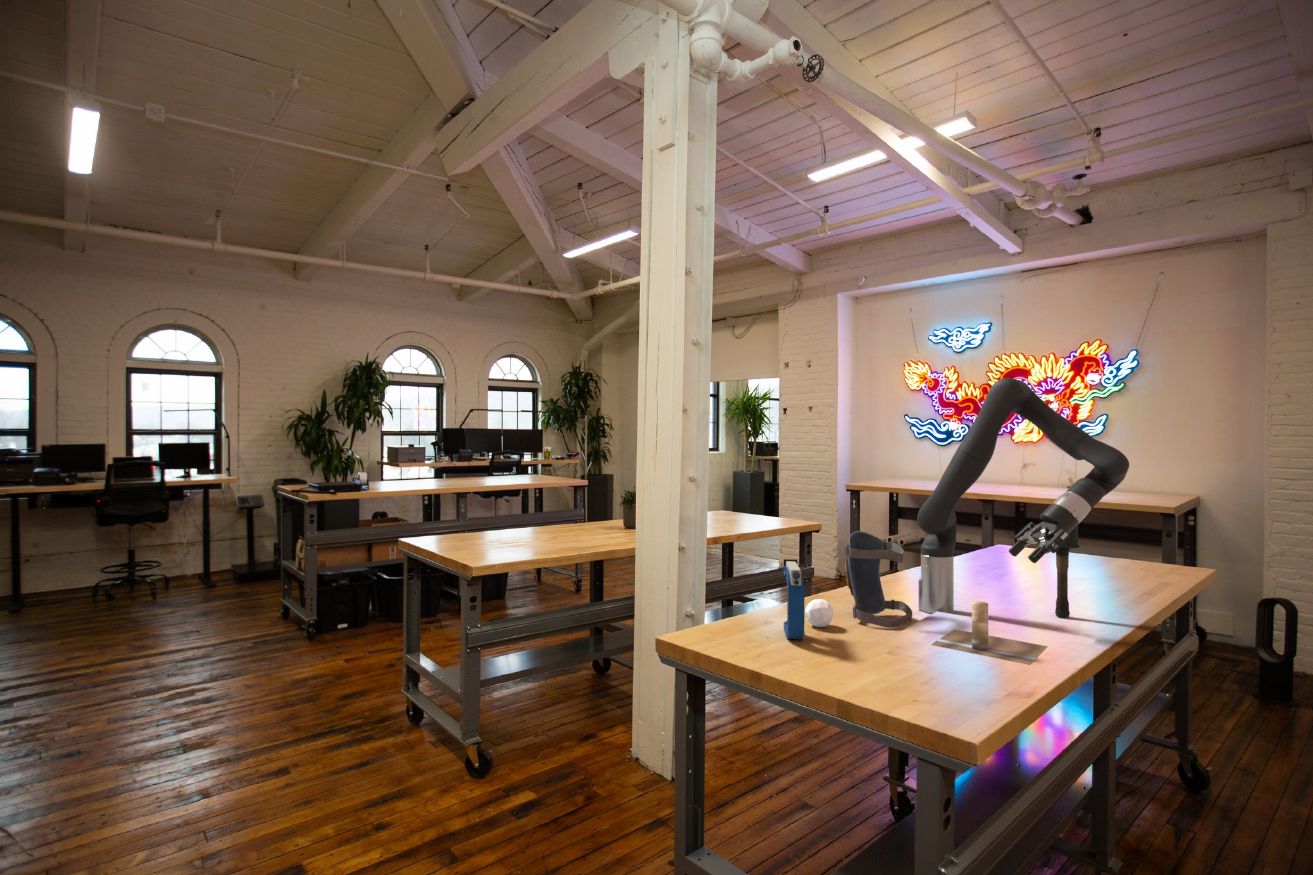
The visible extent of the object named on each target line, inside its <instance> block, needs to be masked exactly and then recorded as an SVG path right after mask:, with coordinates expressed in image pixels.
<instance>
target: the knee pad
mask: <svg viewBox="0 0 1313 875" xmlns="http://www.w3.org/2000/svg"><path fill="white" fill-rule="evenodd" d="M844 551H845V552H844V553H845V554H844V555H845V557H846V561H845V564H844V572H843V574H844V575H845V578H844V580H845V582H846V585H847V588H848V589H849V590H850V595H851V596H853V599H854V603H853V606H852V617H853V618H854V619H857V620H859V621H860V622H864V623H867V624H873V625H876V626H880V627H882V628H889V629H890V628H896V627H900V626H903V625H905V624H907V623H910V622H912V620H913V610H912V609H911V607H910V606H909V605H908V604H907V603H905V602H904V601H901V600H895V599H890V600H886V599H885V595H884V590H883V587H882V581H881V577H880V565H881V560H887V561H888V560H889V561H892V562H895V563H897V564H898V563H899V564H902V563H904V554H905V553H904V549H903V547H902V546H901V544H899V543H897V542H892V541H886V540H882V539H880V538H879V537H877V536H875V535H873V534H871V533H868V532H865V531H861V530H856V531H853V532H852V533H851V534H850V535H849V539H848V543H845V546H844ZM886 609H887V610H891V611H895V610H896V611H897V610H898V611H901V612H903V613H905V614H904V615H902V616H899V617H895V618H886V617H882V616H878V615H877V614H880V613H881V612H884V611H885V610H886Z"/></svg>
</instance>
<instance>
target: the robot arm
mask: <svg viewBox="0 0 1313 875" xmlns="http://www.w3.org/2000/svg"><path fill="white" fill-rule="evenodd" d="M987 392H988V393H987V395H986V397H985V399H984V402H983V404H982V405H981V408H980V410H979V413H978V414H977V417H976V418H975V419H974V421H973V423H972V424H971V426H970V428H969V429H968V431H967V433H966V434H965V436H964V437H963V439H962V441H961V442H960V444H959V446H958V447H957V449H956V451H955V452H954V453H953V456H952V457H951V460H950V461H949V463H948V465H947V467H946V468H945V470H944V472H943V474H942V476H941V478H940V479H939V482H938V483H937V485H936V487H935V488H934V490H932V493H931V494H930V495H929V497H928V498H927V499H926V501H924V503H923V505H922V506H921V507H920V508H919V510H918V512H917V517H916V518H917V520H916V521H917V525H918V527H919V528H920V529H921V530H922V531H923V532H924V534H925V535H924V539H923V541H922V544H921V545H920V546H921V547H920V578H918V611H921V612H925V613H928V614H933V615H934V614H935V613H936V612H939V613H945V614H954V610H955V609H954V607H955V605H954V604H955V602H954V597H955V596H954V591H955V590H954V588H955V587H954V584H955V582H954V576H955V575H954V573H955V572H954V569H955V568H954V564H955V562H954V558H955V557H954V552H955V551H954V550H955V548H956V543H957V515H956V512H955V510H954V508H955V507H956V505H957V504H958V502H959V500H960V499H961V497H963V495H964V494H965V493H966V492H967V491H968V490H969V489H970V488H971V487H972V486H973V485H974V484H975V483H976V482H977V481H978V480H979V479H980V477H981V475H982V474H983V473H984V471H985V469H986V468H987V466H988V465H989V463H990V462H991V460H992V458H993V455H994V453H995V449H996V445H997V441H998V437H999V434H1000V431H1001V429H1002V427H1003V425H1004V424H1005V422H1006V421H1007V419H1008V418H1009V416H1010V415H1012V413H1014V414H1016V415H1018V416H1020V417H1022V418H1023V419H1025V420H1027V421H1029V422H1030V423H1032V424H1033V425H1034V426H1035V427H1037V429H1039V430H1040V432H1042V433H1043V434H1044V435H1045V437H1046V438H1048V439H1049V441H1050V442H1052V443H1053V444H1054V445H1055V446H1057V447H1058V448H1059V449H1060V450H1061V451H1063V452H1065V453H1066V454H1067V455H1068V456H1069V457H1071V458H1072V459H1074V460H1076V461H1086V462H1087V463H1088V464H1091V465H1092V466H1093V468H1092V469H1091V470H1090V471H1089V472H1088V473H1087V474H1086V475H1085V476H1084V477H1081V478H1079V479H1077V480H1076V481H1075V482H1074V483H1073V484H1072V485H1071V486H1069V487H1068V488H1067V490H1065V492H1064V493H1062V494H1061V495H1059V496H1058V497H1057V498H1056V499H1055V500H1054V501H1053V502H1052V503H1051V504H1050V505H1049V506H1048V507H1047V508H1045V510H1044V511H1043V512H1041V514H1040V522H1039V523H1038V524H1035V523H1034V522H1032V521H1031V522H1029V523H1027V525H1025V526H1024V527H1023V528H1022V529H1021V530H1020V531H1019V532H1017V534H1015V536H1014V538H1015V539H1016V541H1017V542H1015V543H1014V544H1013V545H1012V546H1011V548H1009V549H1008V553H1009V554H1010V555H1011V556H1012V557H1017V556H1019V554H1020V553H1021V552H1022V551H1023V550H1024V549H1025V548H1026V547H1028V546H1029V545H1037V544H1039V546H1037V547H1036V548H1035V549H1033V551H1032V552H1031V553H1029V555H1028V556H1027V559H1028V560H1029V561H1030V562H1031V563H1033V564H1036V563H1038V562H1039V561H1040V560H1041V559H1042V558H1043V556H1045V555H1046V554H1049V553H1051V554H1056V551H1057V550H1058V549H1059V548H1060V547H1061V546H1062V545H1063V544H1064V543H1065V542H1066V541H1067V540H1068V539H1069V535H1068V534H1069V533H1070V532H1071V531H1072V530H1073V529H1074V528H1075V527H1076V526H1077V525H1078V526H1079V524H1080V523H1081V522H1082V521H1083V520H1084V519H1085V518H1086V517H1087V515H1088V514H1089V513H1090V512H1091V511H1092V510H1093V509H1094V508H1095V506H1096V505H1097V504H1098V503H1099V502H1100V501H1101V500H1102V499H1103V498H1104V497H1105V496H1107V495H1108V494H1110V493H1111V492H1112V491H1113V490H1115V489H1116V488H1117V487H1118V486H1119V485H1120V484H1121V483H1122V482H1123V481H1124V480H1125V478H1126V476H1127V473H1128V471H1129V469H1130V462H1129V459H1128V458H1127V456H1126V455H1125V454H1124V453H1123V452H1122V451H1120V450H1119V449H1117V448H1115V447H1113V446H1111V445H1109V444H1107V443H1106V442H1103V441H1100V440H1099V439H1095V438H1094V437H1093V436H1091V435H1090V434H1089V433H1087V432H1086V431H1085V430H1083V429H1081V427H1079V426H1077V425H1076V424H1074V423H1073V422H1071V421H1070V420H1068V419H1067V418H1065V417H1064V416H1063V415H1061V414H1060V413H1058V412H1057V411H1056V410H1054V409H1053V408H1051V407H1050V406H1049V404H1047V403H1045V401H1043V399H1042V398H1040V397H1039V396H1038V395H1037V393H1035V391H1034V390H1032V388H1031V387H1030V386H1029V385H1028V384H1027V383H1025V381H1022V380H1019V379H1016V378H1013V377H1012V378H1011V377H1004V378H1001V379H998V380H996V381H995V382H994V383H993V384H992V386H991V387H990V389H989V390H988V391H987ZM1054 542H1055V543H1056V546H1055V547H1053V546H1054Z"/></svg>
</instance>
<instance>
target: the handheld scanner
mask: <svg viewBox="0 0 1313 875" xmlns="http://www.w3.org/2000/svg"><path fill="white" fill-rule="evenodd" d="M783 576H784V577H785V580H786V584H787V585H786V586H787V588H786V589H787V603H786V604H787V605H786V610H787V612H786V614H787V616H786V618H787V619H786V621H783V631H784V635H785V638H786V639H788V640H803V639H804V636H805V582H804V574H803V572H802V570H801V569H800V567H799V564H798V559H797V558H796V559H793V558H792V559H791V558H790V559H789V558H788V559H787V558H784V559H783Z"/></svg>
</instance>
